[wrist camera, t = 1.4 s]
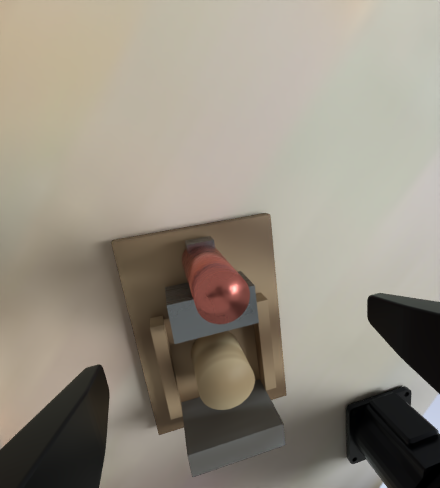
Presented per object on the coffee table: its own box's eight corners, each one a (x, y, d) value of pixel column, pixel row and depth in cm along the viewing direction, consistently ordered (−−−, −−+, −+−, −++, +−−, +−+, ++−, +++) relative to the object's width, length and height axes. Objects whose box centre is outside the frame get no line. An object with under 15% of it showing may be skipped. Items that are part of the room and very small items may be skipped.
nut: (240, 364, 20) (257, 400, 17) (195, 377, 20) (203, 417, 16) (235, 323, 19) (251, 352, 16) (187, 335, 19) (194, 368, 15)
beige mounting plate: (281, 387, 23) (314, 440, 18) (158, 425, 21) (160, 495, 16) (265, 212, 19) (301, 224, 14) (113, 240, 17) (98, 262, 12)
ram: (245, 303, 19) (283, 357, 13) (171, 321, 18) (180, 386, 12) (236, 231, 17) (274, 255, 12) (156, 246, 16) (157, 280, 11)
